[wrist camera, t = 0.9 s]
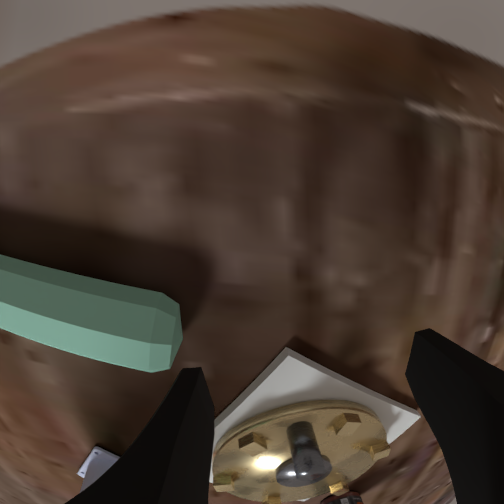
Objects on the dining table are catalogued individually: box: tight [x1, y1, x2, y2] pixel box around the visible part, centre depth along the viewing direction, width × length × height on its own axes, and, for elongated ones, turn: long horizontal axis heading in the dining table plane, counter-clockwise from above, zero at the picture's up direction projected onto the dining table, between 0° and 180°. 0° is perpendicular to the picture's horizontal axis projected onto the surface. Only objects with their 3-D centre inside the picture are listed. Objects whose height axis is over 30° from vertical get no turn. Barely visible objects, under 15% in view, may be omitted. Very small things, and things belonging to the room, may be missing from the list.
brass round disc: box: [212, 400, 391, 504], centre depth 21 cm, size 16×16×6 cm
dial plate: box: [209, 347, 421, 501], centre depth 24 cm, size 18×18×1 cm
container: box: [0, 254, 183, 373], centre depth 15 cm, size 6×6×25 cm
